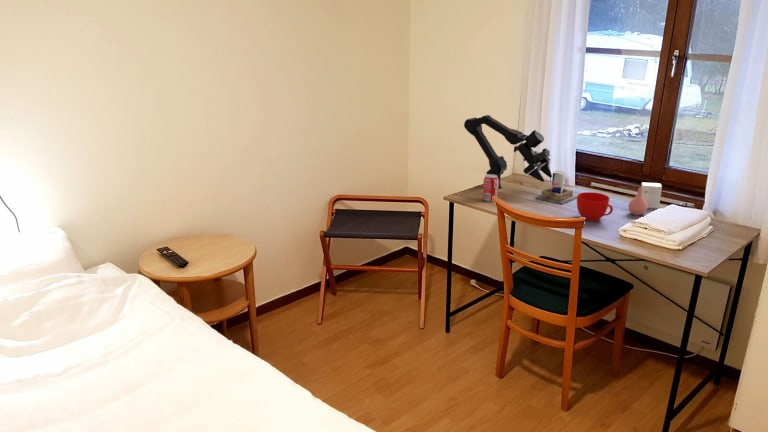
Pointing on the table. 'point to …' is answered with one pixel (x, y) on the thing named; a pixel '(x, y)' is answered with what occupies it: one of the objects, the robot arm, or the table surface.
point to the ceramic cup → (593, 205)
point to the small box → (651, 194)
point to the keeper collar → (557, 196)
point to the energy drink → (557, 182)
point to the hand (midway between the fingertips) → (547, 179)
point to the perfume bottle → (638, 204)
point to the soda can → (490, 186)
